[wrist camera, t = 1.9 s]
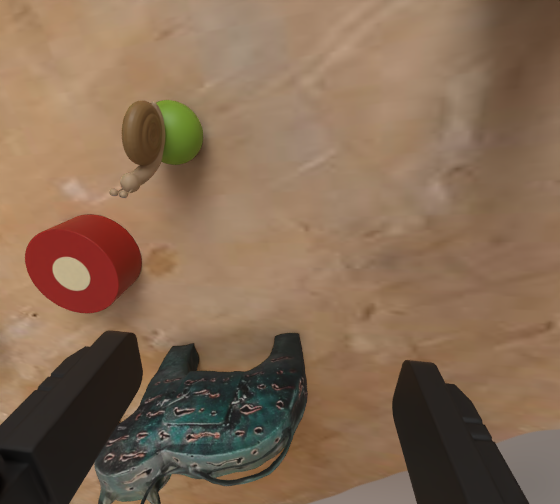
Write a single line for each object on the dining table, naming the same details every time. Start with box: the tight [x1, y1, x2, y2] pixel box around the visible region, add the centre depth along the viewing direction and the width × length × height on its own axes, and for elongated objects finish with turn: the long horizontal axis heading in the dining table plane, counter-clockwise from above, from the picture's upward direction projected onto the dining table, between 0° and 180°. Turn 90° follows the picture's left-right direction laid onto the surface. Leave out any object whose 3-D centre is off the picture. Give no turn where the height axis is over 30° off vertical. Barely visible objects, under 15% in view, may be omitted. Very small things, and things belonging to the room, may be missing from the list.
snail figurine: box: [110, 100, 203, 198], centre depth 25 cm, size 5×6×12 cm
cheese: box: [25, 214, 142, 313], centre depth 34 cm, size 10×10×5 cm
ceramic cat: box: [94, 333, 308, 504], centre depth 32 cm, size 20×6×20 cm, turn 101°
